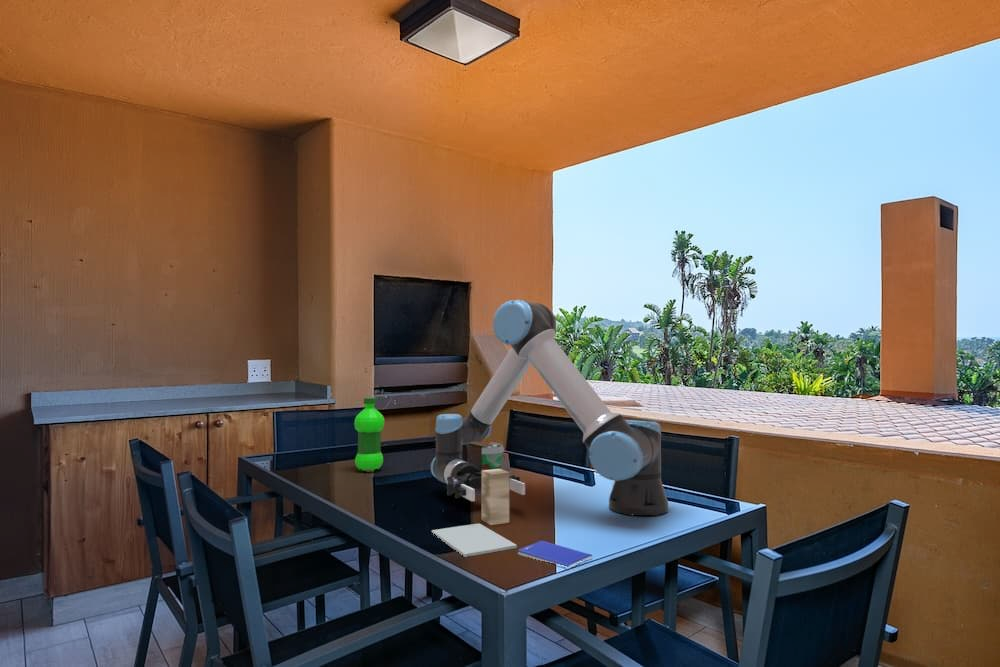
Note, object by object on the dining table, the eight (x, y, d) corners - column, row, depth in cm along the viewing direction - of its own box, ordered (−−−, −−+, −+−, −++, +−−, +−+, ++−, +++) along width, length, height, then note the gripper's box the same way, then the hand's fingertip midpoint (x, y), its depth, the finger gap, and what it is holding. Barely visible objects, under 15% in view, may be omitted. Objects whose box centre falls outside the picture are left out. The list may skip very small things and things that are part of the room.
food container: (500, 479, 191) (500, 448, 192) (481, 478, 193) (481, 447, 193) (507, 472, 203) (507, 442, 204) (489, 471, 205) (489, 442, 205)
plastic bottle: (347, 472, 202) (348, 398, 203) (367, 467, 212) (367, 396, 212) (371, 475, 198) (372, 399, 199) (390, 469, 207) (390, 397, 208)
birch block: (481, 520, 145) (481, 470, 145) (499, 517, 147) (499, 468, 148) (490, 525, 141) (490, 474, 141) (509, 522, 143) (509, 472, 143)
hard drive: (518, 549, 120) (567, 564, 112) (543, 539, 126) (592, 553, 118) (517, 557, 120) (567, 572, 112) (543, 547, 126) (592, 561, 118)
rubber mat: (431, 533, 134) (431, 530, 134) (479, 525, 140) (479, 523, 140) (464, 557, 118) (464, 554, 118) (516, 548, 124) (516, 545, 124)
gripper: (503, 485, 167) (543, 502, 148) (418, 495, 155) (450, 514, 136) (503, 458, 167) (543, 471, 148) (419, 466, 155) (451, 481, 137)
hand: (499, 492), depth 142 cm, fingers open, 13 cm apart
